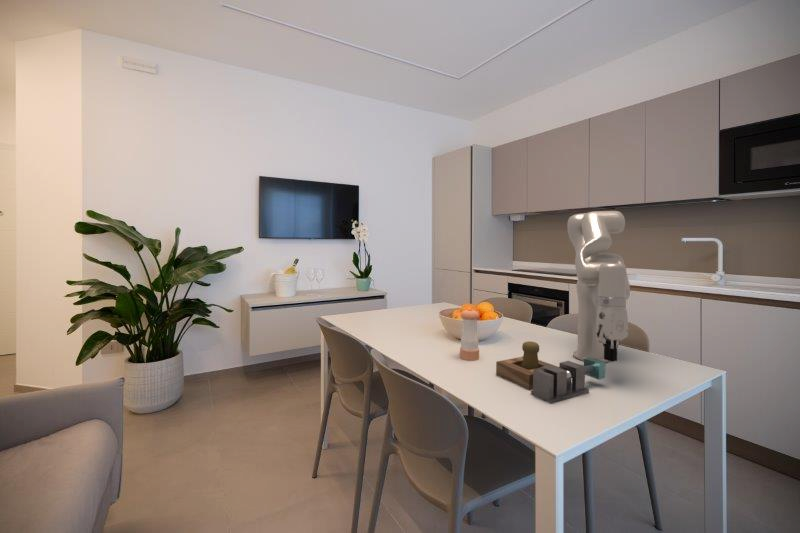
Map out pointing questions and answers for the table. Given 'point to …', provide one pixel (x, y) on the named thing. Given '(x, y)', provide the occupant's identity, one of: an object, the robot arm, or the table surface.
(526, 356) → the olive brown pear shape
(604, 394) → the table surface
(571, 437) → the table surface
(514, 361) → the walnut holder
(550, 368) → the shaft bracket
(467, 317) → the salt shaker
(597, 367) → the steel shaft
